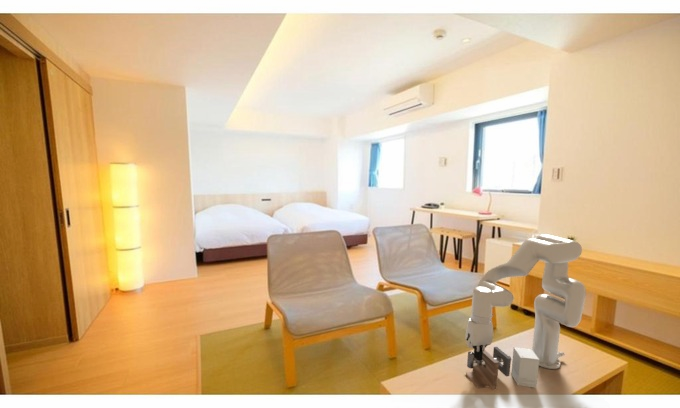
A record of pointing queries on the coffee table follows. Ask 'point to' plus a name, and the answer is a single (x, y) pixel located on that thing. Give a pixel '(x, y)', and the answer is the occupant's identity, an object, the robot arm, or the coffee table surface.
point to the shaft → (472, 363)
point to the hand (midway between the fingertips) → (477, 358)
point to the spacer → (506, 361)
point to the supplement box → (525, 367)
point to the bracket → (485, 372)
